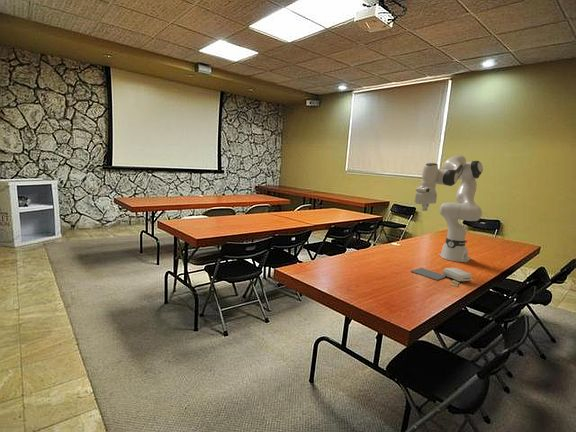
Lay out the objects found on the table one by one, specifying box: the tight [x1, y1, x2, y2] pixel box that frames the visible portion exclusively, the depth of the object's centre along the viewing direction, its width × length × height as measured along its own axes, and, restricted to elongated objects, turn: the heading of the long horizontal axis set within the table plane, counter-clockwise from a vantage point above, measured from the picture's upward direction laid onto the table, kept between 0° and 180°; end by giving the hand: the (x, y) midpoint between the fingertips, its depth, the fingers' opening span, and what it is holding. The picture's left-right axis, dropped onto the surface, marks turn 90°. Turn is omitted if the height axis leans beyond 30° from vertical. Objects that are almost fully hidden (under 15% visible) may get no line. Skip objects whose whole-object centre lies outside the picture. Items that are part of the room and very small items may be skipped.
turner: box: [449, 279, 461, 288], centre depth 179 cm, size 16×4×1 cm, turn 145°
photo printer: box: [442, 267, 473, 282], centre depth 183 cm, size 10×4×12 cm
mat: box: [410, 267, 448, 281], centre depth 189 cm, size 12×16×1 cm
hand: (424, 210), depth 207 cm, fingers closed
